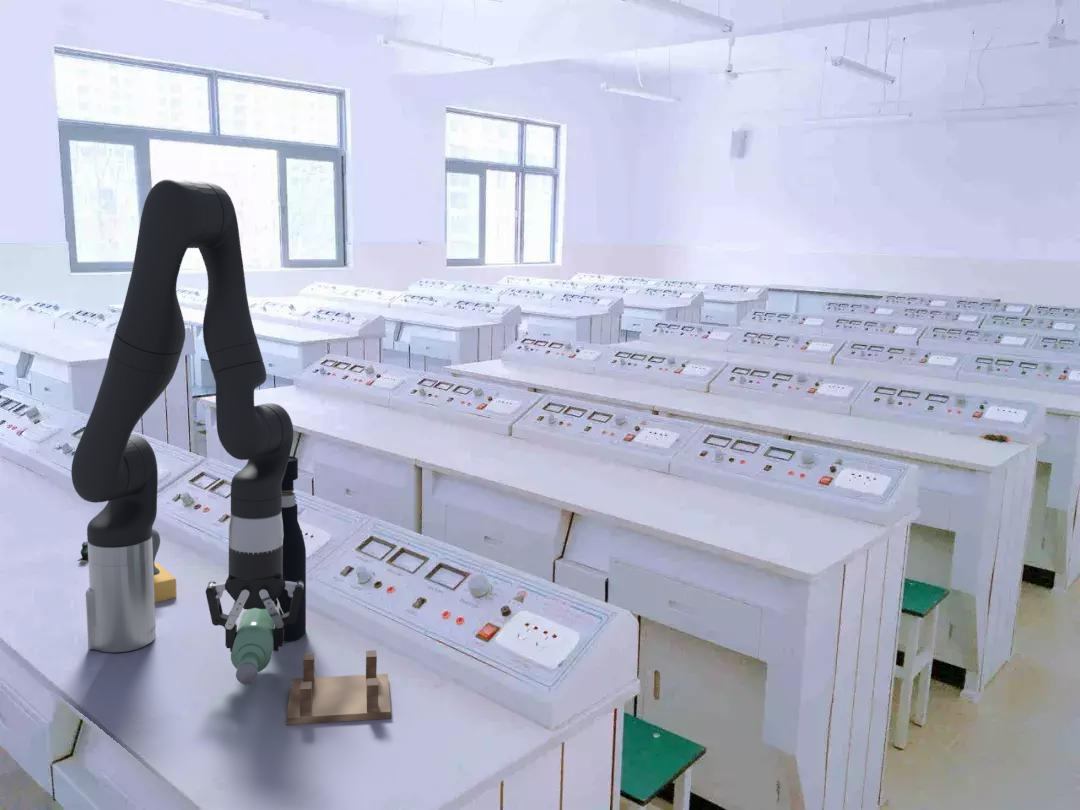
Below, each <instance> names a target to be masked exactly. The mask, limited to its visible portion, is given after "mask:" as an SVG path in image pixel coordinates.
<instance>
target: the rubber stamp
mask: <svg viewBox="0 0 1080 810" xmlns="http://www.w3.org/2000/svg"><path fill="white" fill-rule="evenodd" d="M160 544H161V536H160V534H159V532H158V531H157V530H156V529H154V528H152V546H153V574H154V602H155V603H157V602H160V601H161V602H162V601H166V600H170V599H175V598H176V597H177V596H178V595H177V578H175V577H174V576H173V575H172V574H171V573H170V572H169V571H167V570H166V568H164V567H163V566H162V565H161V564H160V563H158V562H156V557H157V554H158V551H159V549H160V547H161V546H160Z"/></svg>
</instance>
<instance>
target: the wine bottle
mask: <svg viewBox="0 0 1080 810" xmlns="http://www.w3.org/2000/svg"><path fill="white" fill-rule="evenodd" d="M298 462H299V460H298V457H296V456H292V455H290V456H289V460H288V464H287V468H286V472H285V475H284V478H283V481H282V510H281V511H282V521H283V532H284V538H283V576H284V578H285V580H286V581H290V582H297V581H298V580H301V581H303V582H304V587H303V593H302V597H301V602H300V606H299V611H298V615H297V619H296V622H295V623H294V624H287V625H285V626H284V642H283V643H289V642H293V641H298V640H300V639H301V638H303V637H304V636H305V635H306V634H307V629H306V628H307V626H306V625H307V623H306V622H307V621H306V620H307V614H306V613H307V611H306V610H307V609H306V608H307V602H306V601H307V599H306V598H307V589H306V588H307V585H306V584H307V582H306V581H307V573H306V572H307V551H306V549H307V548H306V542H305V538H304V534H303V532H302V528H301V526H300V523H299V521H298V504H297V500H296V498H297V496H296V493H295V492H294V491H295V487H294V481H296V480H297V479H298V478H299V474H298V473H299V472H298V471H299V468H298V464H299V463H298ZM277 599H278V601H279V603H280V607H281V609H282V611H283V614H285V613H288V612H289V611H290V606H291V602H292V597H289V596H288V591H287V590H286V589H284V590H283V591H282V592H281V594H280V595H279V596H278V597H277Z"/></svg>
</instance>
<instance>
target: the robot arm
mask: <svg viewBox="0 0 1080 810" xmlns="http://www.w3.org/2000/svg"><path fill="white" fill-rule="evenodd" d="M237 218H238V217H237V213H236V209H235V206H234V203H233V200H232V198H231V196H230V195H229V193H228V192H227V191H226V190H225V189H224V188H223V187H221V186H219V185H218V184H216V183H215V184H214V183H213V182H212V183H211V182H207V181H195V180H187V179H178V178H177V179H176V178H168V179H162V180H159V181H158V182H157V183H156V184H154V185H153V186H152V188H151V189H150V190H149V192H148V194H147V197H146V199H145V201H144V203H143V208H142V212H141V217H140V222H139V228H138V234H137V241H136V248H135V254H134V259H133V264H132V271H131V274H130V278H129V282H128V286H127V290H126V294H125V298H124V303H123V306H122V311H121V313H120V317H119V319H118V322H117V325H116V329H115V332H114V337H113V338H112V342H111V346H110V349H109V353H108V357H107V363H106V367H105V370H104V373H103V377H102V380H101V383H100V386H99V389H98V393H97V394H96V395H97V396H96V399H95V402H94V403H93V404H94V405H93V407H92V411H91V413H90V415H89V417H88V420H87V423H86V425H85V427H84V430H83V431H82V432H83V433H82V434H81V437H80V439H79V442H78V444H77V446H76V449H75V452H74V454H73V459H72V461H71V462H72V463H71V469H70V470H71V471H70V472H71V481H72V486H73V487H74V490H75V492H76V493H77V495H78V496H79V497H80V498H81V499H82V500H84V501H85V502H89V503H94V504H95V503H97V504H98V503H105V502H107V503H106V505H105V506H104V508H103V509H102V510H101V511H100V512H99V513H97V515H95V516H94V517H93V518H92V519H91V520H90V521H89V523H88V524H87V527H86V537H87V538H86V540H87V542H88V559H89V562H88V579H89V587H88V589H87V590H86V591H85V604H86V605H85V607H86V609H85V610H86V626H87V628H86V629H87V646H88V647H87V648H88V650H97V651H100V652H104V653H124V652H131V651H135V650H138V649H141V648H144V647H146V646H147V645H149V644H151V643H152V642H154V640H156V626H157V624H156V608H155V604H156V602H154V574H153V546H152V529H153V526H154V523H155V521H156V518H157V513H158V477H159V476H158V475H159V473H158V471H159V470H158V461H157V458H156V455H155V451H154V450H153V447H152V446H151V444H150V443H149V441H147V439H146V438H144V437H142V436H140V435H136V434H132V433H133V430H134V429H135V427H136V425H137V423H138V422H139V421H140V420H141V418H142V417H143V416H144V414H146V413H147V412H148V410H149V409H150V408H151V406H152V405H154V403H155V402H156V401H157V400H158V398H159V397H160V396H161V395H162V394H163V392H164V391H165V389H166V388H167V387H168V386H169V384H170V383H171V381H172V380H173V379H174V378H173V377H174V376H175V373H176V370H177V369H178V365H179V362H180V358H181V356H182V351H183V348H184V343H185V340H186V326H185V325H186V324H185V321H184V315H183V312H182V310H181V306H180V303H179V302H180V301H179V298H178V294H177V293H178V292H177V285H178V284H177V283H178V277H179V273H180V268H181V265H182V262H183V259H184V257H185V254H186V253H187V251H188V249H198V250H199V252H200V255H201V259H202V260H203V262H204V263H203V264H204V266H205V270H206V275H207V298H206V304H205V308H204V314H203V321H202V322H203V324H202V337H203V344H204V348H205V352H206V355H207V359H208V361H209V365H210V368H211V373H212V376H213V379H214V382H215V417H216V418H215V419H216V421H215V422H216V432H217V436H218V440H219V442H220V444H221V446H222V447H223V449H224V450H225V451H226V453H227V454H228V455H230V456H231V457H232V458H234V459H236V460H241V461H245V460H246V461H247V463H246V465H244V467H243V468H242V469H240V470H239V471H238V472H236V473H235V474H234V476H233V477H232V479H231V484H230V516H229V523H228V575H227V576H228V577H227V578H226V580H225V581H221V582H216V581H215V580H214V581H213V580H212V581H210V582H208V584H207V586H206V589H205V595H206V600H207V604H208V609H209V614H210V619H211V624H212V625H213V626H215V627H216V626H221V627H223V628H224V629H225V633H224V634H225V636H224V637H225V647H226V649H229V652H230V653H231V652H232V648H233V645H234V641H235V638H236V634H237V630H238V623H237V620H238V618H239V617H240V615H241V612H242V610H247V609H252V608H258V609H267V611H268V613H269V615H270V616H271V617H272V620H273V622H274V635H273V639H274V644H273V649H272V652H278V651H279V650H280V649H279V648H282V647H283V645H284V643H285V642H284V626H285V625H287V624H294V623H295V622H296V619H297V615H298V611H299V606H300V602H301V597H302V593H303V587H304V582H303V581H301V580H298V581H297V582H290V581H286V580H285V578H284V576H283V538H284V532H283V521H282V511H281V510H282V481H283V478H284V475H285V472H286V468H287V464H288V460H289V456H291V451H292V449H293V448H292V447H293V443H294V425H293V422H292V419H291V417H290V415H289V413H288V411H287V410H286V409H285V408H284V407H283V406H281V405H279V404H276V403H268V402H267V403H262V404H258V405H255V390H256V389H257V388H259V387H260V386H262V385H264V383H265V382H266V381H267V370H266V366H265V363H264V359H263V355H262V353H261V349H260V345H259V342H258V339H257V334H256V332H255V327H254V325H253V321H252V316H251V312H250V308H249V307H250V306H249V300H248V295H247V293H248V292H247V286H246V278H245V270H244V262H243V261H244V260H243V253H242V246H241V239H240V231H239V223H238V219H237ZM284 589H286V590H287V591H288V596H289V597H292V602H291V606H290V611H289V612H288V613H285V614H283V611H282V609H281V607H280V603H279V601H278V599H277V597H278V596H279V595H280V594H281V592H282V591H283V590H284ZM224 591H226V592H227V593H228V595H229V596H230V597H231V598H232V599H233V601H234V602H233V605H232V607H231V609H230V611H229V614H226V613H224V611H223V607H222V603H221V598H222V597H223V594H224Z"/></svg>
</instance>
